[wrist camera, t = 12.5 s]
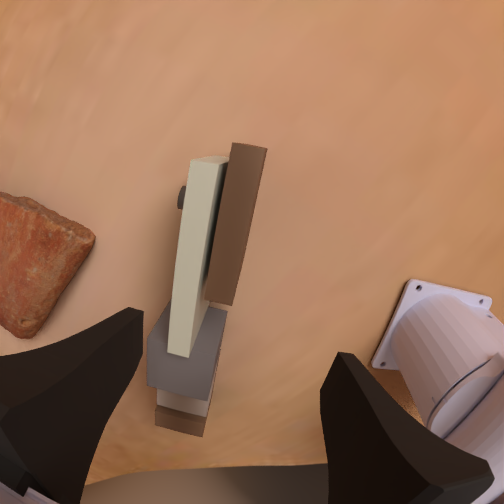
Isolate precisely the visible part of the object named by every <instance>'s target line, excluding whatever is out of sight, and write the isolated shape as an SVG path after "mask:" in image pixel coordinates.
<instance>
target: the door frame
mask: <svg viewBox="0 0 504 504" xmlns="http://www.w3.org/2000/svg"><path fill="white" fill-rule="evenodd" d="M266 152H267V148H263V147H258V146H253V145H248V144H241V143H232V147H231V152H230V157H229V162H228V167H227V172H226V177H225V182H224V187H223V193H222V198H221V203H220V209H219V214H218V220H217V225H216V231H215V236H214V242H213V248H212V254H211V260H210V266H209V272H208V278H207V284H206V290H205V296H204V300H208V301H212V302H217V303H221V304H226V305H230V306H232V304H233V300H234V296H235V292H236V288H237V284H238V280H239V276H240V272H241V268H242V264H243V259H244V255H245V250H246V245H247V241H248V236H249V231H250V227H251V222H252V217H253V213H254V208H255V203H256V199H257V194H258V189H259V185H260V180H261V175H262V171H263V166H264V162H265V157H266ZM220 350H221V349H220ZM219 355H220V352H219ZM218 361H219V357H218ZM218 361H217V365H216V369H215V373H214V377H213V381H212V385H211V389H210V393H209V397H208V401H203V400H199V399H195V398H191V397H187V396H183V395H179V394H175V393H171V392H168V391H164V390H161V389H157V407H156V410H155V425H157V426H160V427H164V428H167V429H171V430H175V431H178V432H182V433H186V434H190V435H194V436H199V437H202V436H203V432H204V428H205V423H206V419H207V415H208V411H209V406H210V402H211V396H212V391H213V386H214V381H215V376H216V371H217V366H218Z"/></svg>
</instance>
